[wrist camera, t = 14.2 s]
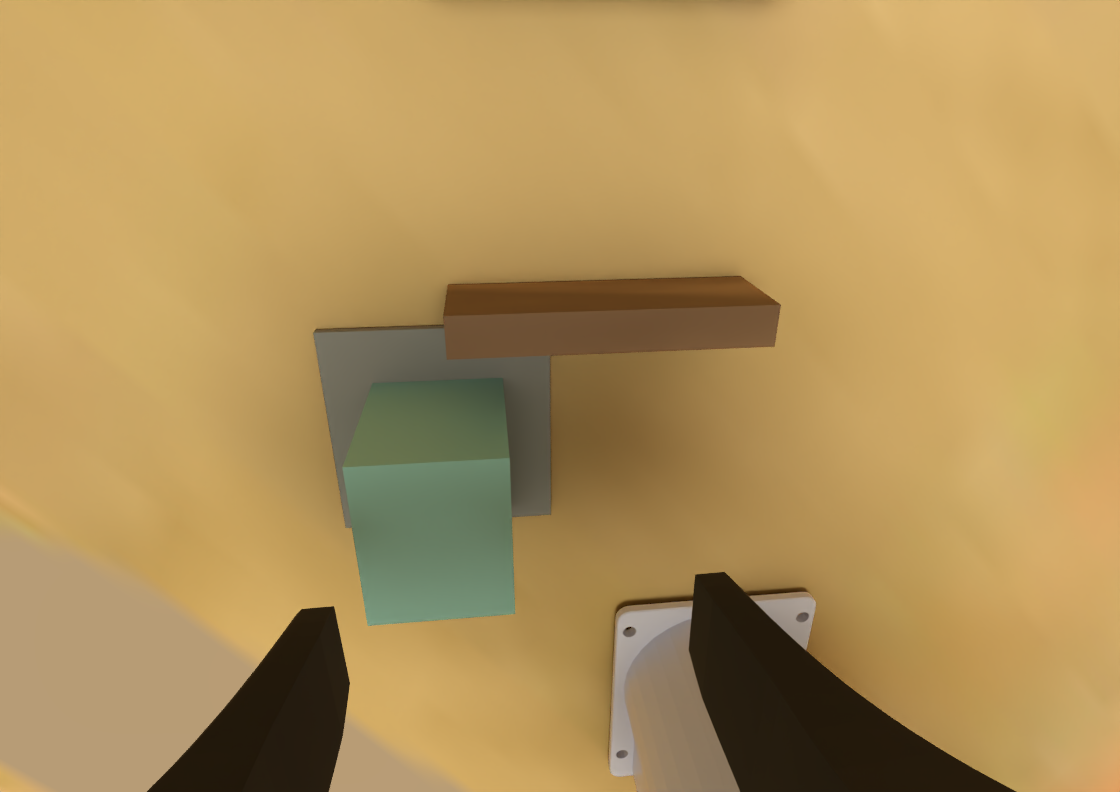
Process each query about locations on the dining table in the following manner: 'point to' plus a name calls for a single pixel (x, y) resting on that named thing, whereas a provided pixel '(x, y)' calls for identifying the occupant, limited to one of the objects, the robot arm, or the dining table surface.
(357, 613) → the dining table surface
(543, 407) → the mat
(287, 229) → the dining table surface
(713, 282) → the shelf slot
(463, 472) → the block
